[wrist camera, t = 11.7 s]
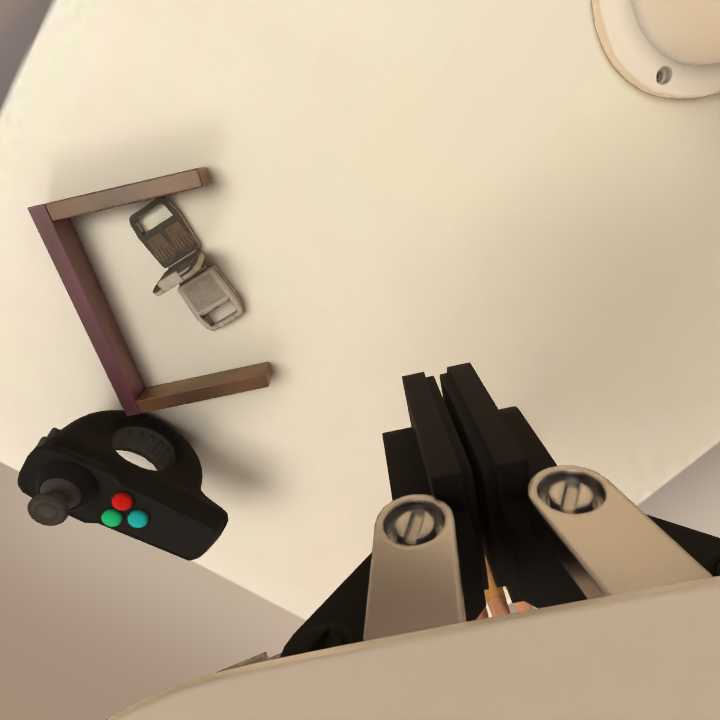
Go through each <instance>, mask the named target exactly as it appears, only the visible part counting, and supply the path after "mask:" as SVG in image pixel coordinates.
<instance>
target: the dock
mask: <svg viewBox="0 0 720 720" xmlns="http://www.w3.org/2000/svg"><path fill="white" fill-rule="evenodd" d="M210 184H211V181H210V178H209V175H208V171H207V168H206V167H202V168H196V169H192V170H188V171H183V172H179V173H175V174H170V175H166V176H162V177H158V178H153V179H149V180H145V181H140V182H136V183H132V184H127V185H123V186H119V187H115V188H110V189H106V190H102V191H97V192H93V193H89V194H85V195H80V196H76V197H72V198H67V199H63V200H59V201H54V202H50V203H46V204H41V205H37V206H33V207H29V208H28V210H29V212H30V214H31V216H32V219H33V221H34V223H35V225H36V227H37V229H38V231H39V233H40V235H41V237H42V239H43V242H44V244H45V246H46V248H47V250H48V252H49V254H50V256H51V258H52V260H53V263H54V265H55V267H56V269H57V271H58V273H59V275H60V277H61V279H62V281H63V283H64V286H65V288H66V290H67V292H68V294H69V296H70V298H71V300H72V302H73V304H74V307H75V309H76V311H77V313H78V315H79V317H80V319H81V321H82V323H83V325H84V327H85V330H86V332H87V334H88V336H89V338H90V340H91V342H92V344H93V346H94V348H95V350H96V353H97V355H98V357H99V359H100V361H101V363H102V365H103V367H104V369H105V371H106V374H107V376H108V378H109V380H110V382H111V384H112V386H113V388H114V390H115V392H116V394H117V397H118V399H119V401H120V403H121V405H122V407H123V409H124V411H125V413H126V415H127V416H131V415H136V414H141V413H145V412H150V411H155V410H159V409H164V408H169V407H174V406H179V405H183V404H188V403H193V402H198V401H202V400H207V399H212V398H217V397H221V396H226V395H231V394H236V393H241V392H245V391H250V390H255V389H260V388H264V387H268V386H269V383H270V380H271V376H272V372H271V369H270V365H269V363H268V362H266V363H261V364H256V365H252V366H247V367H242V368H238V369H233V370H228V371H223V372H219V373H214V374H209V375H205V376H200V377H195V378H190V379H186V380H181V381H176V382H172V383H167V384H162V385H157V386H153V387H148V388H145V386H144V383H143V381H142V379H141V377H140V374H139V372H138V370H137V368H136V365H135V363H134V361H133V359H132V357H131V354H130V352H129V350H128V348H127V345H126V343H125V341H124V339H123V336H122V334H121V332H120V330H119V327H118V325H117V323H116V321H115V318H114V316H113V314H112V312H111V309H110V307H109V305H108V303H107V300H106V298H105V296H104V294H103V292H102V289H101V287H100V285H99V283H98V280H97V278H96V276H95V274H94V271H93V269H92V267H91V265H90V262H89V260H88V258H87V256H86V253H85V251H84V249H83V247H82V244H81V242H80V240H79V238H78V236H77V233H76V231H75V229H74V227H73V224H72V222H71V220H70V218H71V217H75V216H79V215H84V214H88V213H92V212H97V211H101V210H105V209H110V208H114V207H118V206H123V205H127V204H131V203H136V202H140V201H144V200H149V199H153V198H157V197H162V196H166V195H170V194H175V193H179V192H183V191H188V190H192V189H196V188H201V187H204V186H207V185H210Z"/></svg>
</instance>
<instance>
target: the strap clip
mask: <svg viewBox="0 0 720 720" xmlns="http://www.w3.org/2000/svg"><path fill="white" fill-rule="evenodd" d="M160 204H164V205H165V206H166V207H167V209H168V210H169V211H170V212H171V213H172V214H173V216H171V217H170V218H168V219H167V220H165V221H163V222H162V223H160V224H159V225H157V226H156V227H154V228H153V229H151V230H150V231H148V232H147V233H145V232H144V231H143V229H142V228H141V226H140V225H139V223H138V219H139V218H140V217H141V216H143V215H144V214H146V213H147V212H149V211H150V210H152V209H153V208H155V207H156V206H158V205H160ZM129 221H130V224H131V226H132V228H133V230H134V231H135V233H136V235H137V237H138V238H139V239H140V240H141V242H142V243H143V244H144V245H145V246H146V248H147V249H148V250H149V251H150V252H151V253H152V255H153V256H154V257H155V258H156V259H157V261H158V262H159V263H160V264H161V265H162V266H163V267H164V268H167V267H169V268H168V269H169V270H167V271H166V272H165V273H164V275H163V276H162V277H161V279H160V280H159V282H157V285H156V286H155V288H154V290H153V293H154V294H155V295H156V296H160V295H162V294H163V293H165V292H167V291H168V290H170V289H171V288H173V287H175V286H176V285H178V284H179V285H180V286H179V287H178V292H179V293H180V295H181V296H182V298H183V299H184V301H185V302H186V304H187V305H188V307H189V308H190V310H191V311H192V313H193V314H194V315H195V317H196V318H197V320H198V321H199V322H200V323H202V324H203V325H204V326H205V327H206V328H207V329H209V330H212V331H214V330H217V329H218V328H220V327H222V326H224V325H226V324H227V323H229V322H231V321H232V320H234V319H236V318H237V317H239V316H241V315H242V313H243V311H244V307H243V304H242V302H241V300H240V298H239V296H238V294H237V292H236V291H235V290H234V289H233V287H232V286H231V285H230V284H229V282H228V281H227V280H226V279H225V277H224V276H223V275H222V274H221V272H220V271H219V270H218V269H217V267H216V266H209V265H208V263H207V264H206V265H204V266H202V263H203V260H204V255H203V253H202V252H201V251H199V250H198V248H199V247H200V243H199V241H198V240H197V238H196V237H195V235H194V234H193V232H192V230H191V229H190V227H189V226H188V224H187V222H186V221H185V219H184V218H183V216H182V215H181V213H180V211H179V210H178V209H177V208H176V207H175V206H174V205H173V204H172V203H171V202H170V201H169V200H167V199H166V198H163V197H160V198H157V199H156V200H154V201H153V202H151V203H150V204H148V205H147V206H145V207H144V208H142V209H141V210H139V211H138V212H136V213H134V214H133V215H131V217H130V220H129ZM201 266H202V267H201ZM229 300H231V301H232V303H233V305H234V306H235V308H236V309H237V311H235V312H234V313H232V314H230V315H228V316H227V317H225V318H223V319H222V320H220V321H218V322H216V323H213V322H212V321H211V320H210V318H209V317H208V316H207V315H206V314H207V313H209V312H210V311H212V310H214V309H215V308H217V307H219V306H220V305H222V304H224V303H225V302H227V301H229Z"/></svg>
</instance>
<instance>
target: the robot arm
mask: <svg viewBox="0 0 720 720" xmlns="http://www.w3.org/2000/svg"><path fill="white" fill-rule="evenodd" d="M592 8H593V15H594V23H595V27H596V30H597V33H598V36H599V39H600V42H601V45H602V47H603V49H604V51H605V53H606V54H607V56H608V58H609V60H610V61H611V63H612V65H613V66H614V67H615V68H616V69H617V70H618V71H619V72H620V74H621V75H622V76H623V77H624V78H625V79H626V80H627V81H629V82H630V83H632V84H633V85H635V86H636V87H638V88H639V89H641V90H642V91H645V92H648V93H651V94H654V95H657V96H659V97H666V98H676V99H684V98H694V97H702V96H707V95H711V94H715V93H720V0H592ZM657 74H658V79H656V76H657ZM402 380H403V385H404V390H405V395H406V400H407V406H408V411H409V416H410V421H411V426H412V427H410V428H405V429H400V430H396V431H391V432H386V433H382V434H383V441H384V448H385V454H386V461H387V467H388V474H389V480H390V486H391V493H392V499H393V501H392V502H390V503H389V504H388V505H386V506H385V507H384V508H383V509H382V511H381V512H380V513H379V515H378V516H377V519H376V523H375V528H374V538H373V548H372V553H371V554H370V555H369V556H368V557H367V558H366V559H365V560H364V561H363V562H362V563H361V564H360V565H359V566H358V567H357V568H356V569H355V570H354V572H353V573H352V574H351V575H350V576H349V577H348V578H347V579H346V580H345V581H344V582H343V583H342V584H341V585H340V586H339V587H338V588H337V589H336V590H335V591H334V592H333V594H332V595H331V596H330V597H329V598H328V599H327V600H326V601H325V602H324V603H323V604H322V605H321V606H320V607H319V608H318V609H317V610H316V611H315V612H314V613H313V614H312V616H311V617H310V618H309V619H308V620H307V621H306V622H305V623H304V624H303V625H302V626H301V627H300V628H299V629H298V630H297V631H296V632H295V633H294V634H293V636H292V637H291V639H290V640H289V641H288V643H287V644H286V645H285V647H284V649H283V652H282V653H280V654H278V655H275V656H273V657H270V658H268V655H267V653H266V652H264V653H262V654H259V655H257V656H254V657H252V658H250V659H247V660H245V661H242V662H240V663H238V664H235V665H233V666H230V667H228V668H225V669H223V670H221V671H218V672H216V673H213V674H209V675H206V676H203V677H200V678H197V679H194V680H191V681H188V682H185V683H182V684H179V685H175V686H173V687H171V688H169V689H166V690H164V691H161V692H159V693H157V694H155V695H152V696H150V697H148V698H146V699H143V700H141V701H139V702H137V703H135V704H133V705H131V706H130V707H128V708H126V709H124V710H123V711H121V712H119V713H117V714H116V715H114V716H112V717H110V718H109V719H107V720H720V538H718V537H715V536H712V535H709V534H706V533H702V532H699V531H696V530H693V529H690V528H687V527H684V526H681V525H677V524H674V523H671V522H668V521H665V520H662V519H658V518H655V517H652V516H649V515H646V514H645V513H644V512H642V511H641V510H640V509H639V508H638V507H637V506H636V505H635V504H634V503H633V502H632V501H630V500H629V499H628V498H627V497H626V496H625V495H624V494H623V493H622V492H621V491H620V490H618V489H617V488H616V487H615V486H614V485H613V484H612V483H611V482H610V481H609V480H608V479H606V478H605V477H603V476H602V475H600V474H599V473H597V472H595V471H592V470H590V469H587V468H583V467H578V466H557V464H556V463H555V462H554V460H553V459H552V457H551V456H550V454H549V453H548V451H547V450H546V448H545V447H544V445H543V444H542V442H541V441H540V440H539V438H538V437H537V435H536V434H535V432H534V431H533V429H532V428H531V426H530V425H529V423H528V422H527V420H526V419H525V418H524V416H523V415H522V413H521V412H520V410H519V409H518V408H517V407H515V406H514V407H509V408H504V409H499V410H498V408H497V406H496V405H495V403H494V401H493V400H492V398H491V396H490V395H489V393H488V392H487V390H486V388H485V387H484V385H483V383H482V382H481V380H480V378H479V377H478V375H477V373H476V372H475V370H474V368H473V367H472V365H471V364H470V362H469V363H465V364H460V365H455V366H450V367H447V373H445V374H440V381H441V388H442V394H443V397H442V395H441V393H440V390H439V388H438V385H437V383H436V380H435V378H434V376H430V377H426V376H425V374H424V372H421V373H416V374H412V375H407V376H402ZM485 557H486V560H487V562H488V565H489V568H490V571H491V573H492V576H493V579H494V582H495V584H496V586H497V588H499V587H504V586H506V587H507V590H508V593H509V595H510V598H511V601H512V603H517V602H522V601H525V602H527V603H529V604H531V605H533V606H535V607H536V608H538V609H534V610H528V611H523V612H517V613H513V614H506V615H501V616H496V617H490V618H485V619H479V620H477V618H478V617H479V615H480V614H481V612H482V611H483V609H484V608H485V606H486V599H485V592H484V590H488V589H489V582H488V575H487V568H486V561H485Z"/></svg>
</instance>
